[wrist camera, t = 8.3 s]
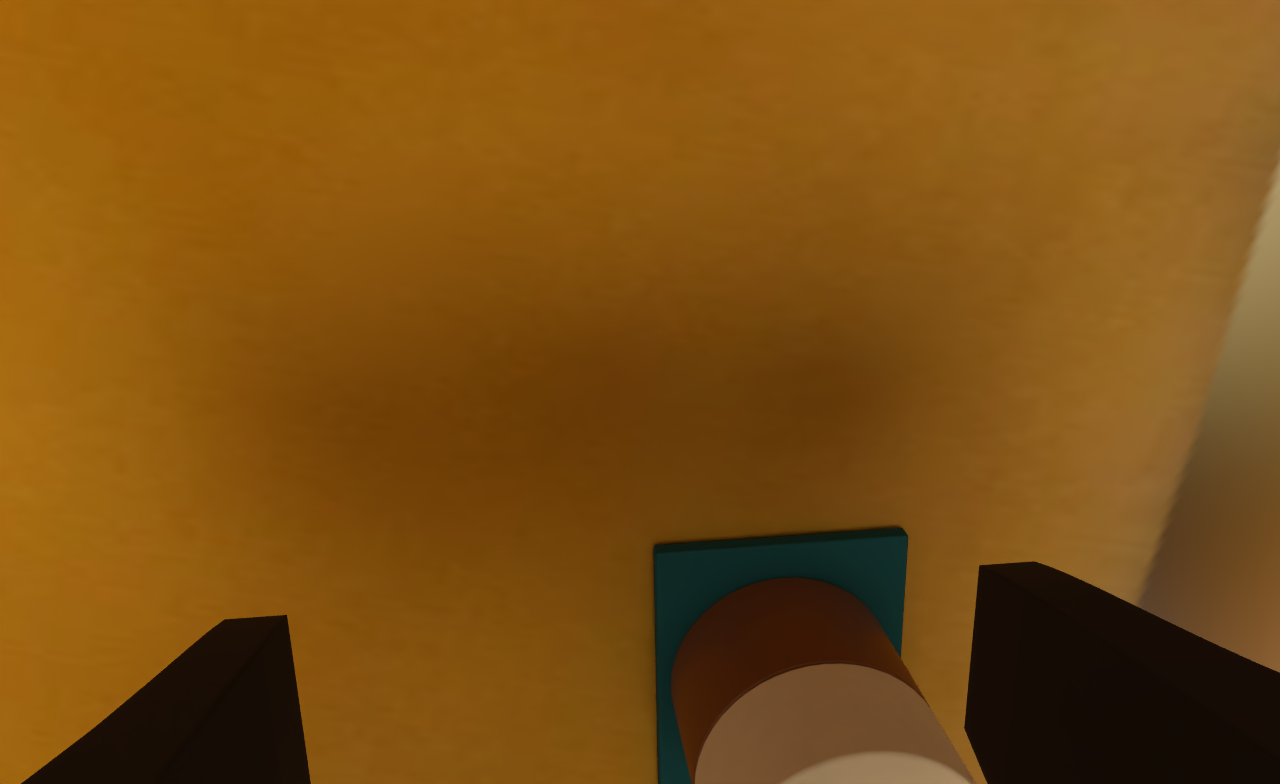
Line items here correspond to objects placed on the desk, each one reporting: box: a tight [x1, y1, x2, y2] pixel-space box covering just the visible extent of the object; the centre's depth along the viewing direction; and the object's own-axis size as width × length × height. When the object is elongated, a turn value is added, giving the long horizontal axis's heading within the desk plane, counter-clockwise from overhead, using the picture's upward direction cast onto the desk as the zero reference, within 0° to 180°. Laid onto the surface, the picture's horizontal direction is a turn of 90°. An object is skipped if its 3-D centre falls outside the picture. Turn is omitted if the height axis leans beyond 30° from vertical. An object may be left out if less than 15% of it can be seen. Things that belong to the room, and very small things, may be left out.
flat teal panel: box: [653, 528, 908, 784], centre depth 23 cm, size 6×5×1 cm
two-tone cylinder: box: [671, 577, 976, 784], centre depth 20 cm, size 4×4×6 cm
